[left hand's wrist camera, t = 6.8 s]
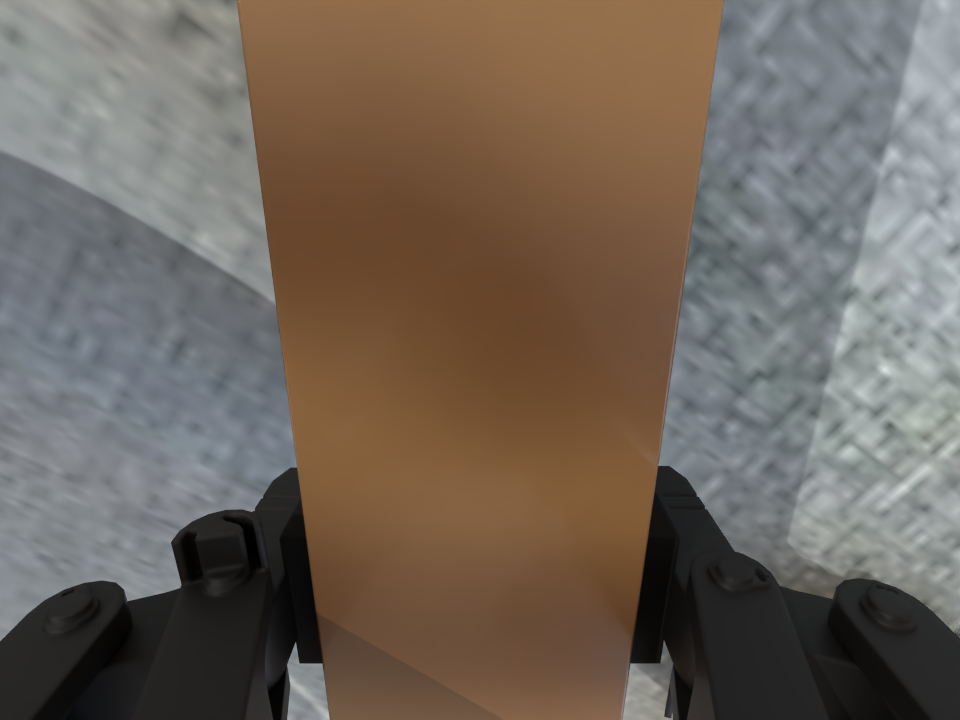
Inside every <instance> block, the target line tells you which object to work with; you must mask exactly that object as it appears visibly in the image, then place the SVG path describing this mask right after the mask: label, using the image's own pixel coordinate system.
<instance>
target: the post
mask: <svg viewBox="0 0 960 720" xmlns="http://www.w3.org/2000/svg"><path fill="white" fill-rule="evenodd" d="M723 3H724V0H237V6H238V13H239V21H240V29H241V37H242V44H243V52H244V60H245V68H246V75H247V83H248V91H249V98H250V106H251V114H252V122H253V129H254V137H255V145H256V153H257V160H258V168H259V176H260V183H261V191H262V199H263V207H264V214H265V222H266V230H267V238H268V245H269V253H270V261H271V268H272V276H273V284H274V292H275V299H276V307H277V315H278V323H279V330H280V338H281V346H282V353H283V361H284V369H285V377H286V384H287V392H288V400H289V408H290V415H291V423H292V431H293V439H294V446H295V454H296V462H297V469H298V477H299V485H300V493H301V500H302V508H303V516H304V524H305V531H306V539H307V547H308V554H309V562H310V570H311V578H312V585H313V593H314V601H315V609H316V616H317V624H318V632H319V639H320V647H321V655H322V663H323V670H324V678H325V686H326V694H327V701H328V709H329V717H330V720H622V718H623V711H624V704H625V697H626V690H627V683H628V676H629V669H630V662H631V655H632V648H633V640H634V633H635V626H636V619H637V612H638V605H639V598H640V591H641V584H642V577H643V570H644V563H645V555H646V548H647V541H648V534H649V527H650V520H651V513H652V506H653V499H654V492H655V485H656V478H657V470H658V463H659V456H660V449H661V442H662V435H663V428H664V421H665V414H666V407H667V400H668V393H669V385H670V378H671V371H672V364H673V357H674V350H675V343H676V336H677V329H678V322H679V315H680V308H681V300H682V293H683V286H684V279H685V272H686V265H687V258H688V251H689V244H690V237H691V230H692V223H693V215H694V208H695V201H696V194H697V187H698V180H699V173H700V166H701V159H702V152H703V145H704V138H705V130H706V123H707V116H708V109H709V102H710V95H711V88H712V81H713V74H714V67H715V60H716V53H717V45H718V38H719V31H720V24H721V17H722V10H723Z"/></svg>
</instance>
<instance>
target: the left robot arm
mask: <svg viewBox="0 0 960 720" xmlns="http://www.w3.org/2000/svg"><path fill="white" fill-rule="evenodd" d="M171 544H172V548H173V552H174V556H175V560H176V564H177V568H178V572H179V576H180V580H181V584H182V585H181V588H179V589H176V590H173V591H170V592H166V593H162V594H158V595H153V596H149V597H145V598H141V599H136V600H132V601H128V602H127V599H126V595H125V592H124V589H123V588H121V587H120V586H119V585H118V584H117V583H114V582H108V581H95V582H88V583H83V584H80V585H77V586H74V587H71V588H68V589H65V590H63V591H61V592H59V593H58V594H56V595H54V596H52V597H50V598H48V599H46V600H45V601H43V602H42V603H41V604H40V605H38V606H37V607H36V608H35V609H33V610H32V611H31V612H30V613H28V614H27V615H26V616H25V617H24V618H23V619H22V620H21V621H20V622H19V623H18V624H17V625H16V626H15V627H14V628H13V629H12V630H11V631H10V632H9V633H8V634H7V635H6V636H5V637H4V638H3V639H2V640H1V641H0V720H287V714H288V703H289V692H290V681H289V674H288V668H287V663H288V660H289V658H290V655H291V653H292V650H293V647H294V645H295V642H296V644H297V650H298V657H299V663H322V655H321V647H320V639H319V632H318V624H317V616H316V609H315V601H314V593H313V585H312V578H311V570H310V562H309V554H308V547H307V539H306V531H305V524H304V516H303V508H302V500H301V493H300V485H299V477H298V469H297V468H290V469H288V470H287V471H286V472H284V473H283V474H282V475H280V476H279V477H278V478H276V479H275V480H273V482H272V483H271V485H270V486H269V488H268V489H267V491H266V492H265V494H264V495H263V499H261V500H260V502H259V503H258V505H257V506H256V508H255V511H253V512H249V511H245V510H224V511H220V512H216V513H212V514H208V515H206V516H204V517H202V518H199V519H197V520H195V521H193V522H191V523H190V524H189V525H187V526H186V527H184V528H183V529H182V530H180V531H179V532H178V534H177V535H176V536H175V538H174V539H173V540H172V542H171ZM664 641H665V643H666V646H667V648H668V651H669V653H670V656H671V659H672V661H673V668H672V674H671V680H670V685H669V691H668V697H667V703H666V709H665V716H664V717H668V718H671V716H672V713H673V720H960V638H959V637H958V636H957V635H956V634H955V633H954V632H953V631H952V630H951V629H950V628H949V627H948V626H947V625H946V624H945V623H944V622H943V621H942V620H941V619H940V618H939V617H937V616H936V615H935V614H934V613H933V612H932V611H931V610H930V609H929V608H927V607H926V606H925V605H924V604H922V603H921V602H920V601H919V600H917V599H916V598H914V597H913V596H911V595H909V594H907V593H905V592H903V591H902V590H900V589H898V588H896V587H893V586H890V585H887V584H884V583H881V582H878V581H874V580H867V579H859V578H857V579H851V580H845V581H843V582H842V583H841V584H840V585H839V586H837V587H836V591H835V594H834V597H833V599H829V598H824V597H820V596H816V595H811V594H807V593H803V592H798V591H794V590H791V589H788V588H784V587H781V586H779V584H778V583H777V581H776V580H775V578H774V577H773V575H772V573H771V572H770V571H769V570H767V569H766V568H765V567H764V566H763V565H761V564H760V563H759V562H758V561H756V560H754V559H752V558H750V557H748V556H746V555H744V554H741V553H738V552H735V551H734V550H733V548H732V547H731V545H730V544H729V542H728V541H727V539H726V538H725V536H724V535H723V533H722V532H721V530H720V529H719V527H718V526H717V524H716V523H715V521H714V520H713V518H712V517H711V515H710V514H709V512H708V510H706V509H705V506H704V504H703V503H702V501H701V500H700V498H699V497H697V494H696V492H695V491H694V489H693V488H692V486H691V485H690V483H689V482H688V480H687V479H686V478H685V477H683V476H682V475H681V474H679V473H678V472H676V471H675V470H674V469H672V468H671V467H670V466H658V470H657V478H656V485H655V492H654V499H653V506H652V513H651V520H650V527H649V534H648V541H647V548H646V555H645V563H644V570H643V577H642V584H641V591H640V598H639V605H638V612H637V619H636V626H635V633H634V640H633V648H632V655H631V662H630V663H660V661H661V655H662V648H663V642H664Z"/></svg>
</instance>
